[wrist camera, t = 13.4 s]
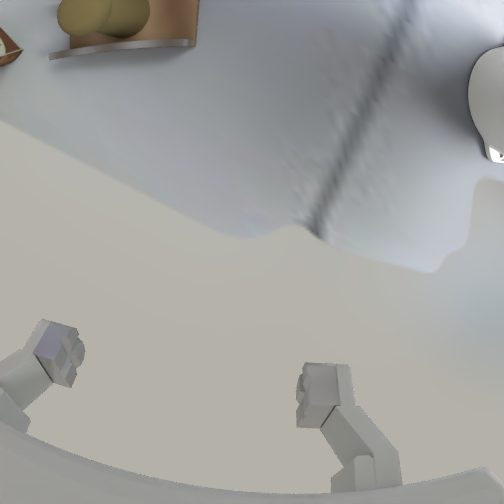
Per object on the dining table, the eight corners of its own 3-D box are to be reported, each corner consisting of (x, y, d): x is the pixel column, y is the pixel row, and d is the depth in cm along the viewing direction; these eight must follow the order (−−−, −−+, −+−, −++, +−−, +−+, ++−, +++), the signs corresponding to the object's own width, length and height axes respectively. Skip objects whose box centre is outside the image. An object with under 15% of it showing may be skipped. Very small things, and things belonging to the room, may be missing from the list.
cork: (105, 43, 29) (50, 50, 20) (101, -1, 25) (45, -7, 16) (152, 31, 28) (106, 29, 19) (148, -15, 25) (101, -31, 16)
